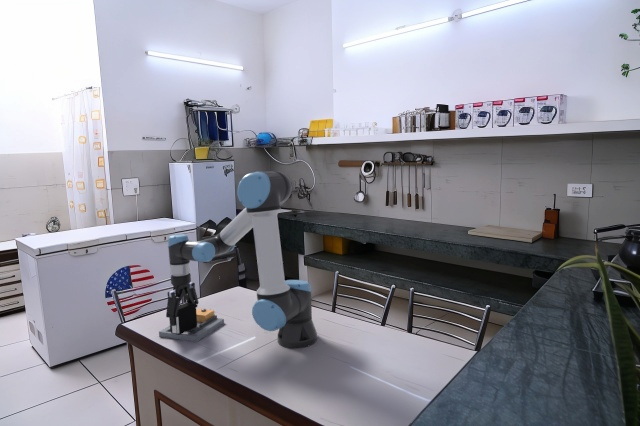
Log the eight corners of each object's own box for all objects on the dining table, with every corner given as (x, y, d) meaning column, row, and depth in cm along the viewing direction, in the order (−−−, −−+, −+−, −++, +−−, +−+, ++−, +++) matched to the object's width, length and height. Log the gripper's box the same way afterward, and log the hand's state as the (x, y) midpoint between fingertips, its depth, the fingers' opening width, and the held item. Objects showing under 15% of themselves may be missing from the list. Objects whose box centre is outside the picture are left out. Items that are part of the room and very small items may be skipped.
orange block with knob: (214, 316, 178) (214, 308, 177) (205, 322, 172) (205, 314, 171) (199, 315, 180) (198, 307, 180) (189, 320, 174) (189, 312, 174)
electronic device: (197, 326, 168) (195, 303, 167) (177, 335, 159) (175, 310, 158) (190, 324, 170) (188, 301, 169) (170, 333, 162) (168, 309, 160)
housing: (224, 323, 176) (223, 316, 175) (196, 341, 158) (196, 333, 158) (189, 319, 182) (188, 312, 181) (159, 336, 164) (158, 328, 164)
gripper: (190, 266, 174) (193, 316, 177) (152, 280, 153) (157, 337, 156) (205, 267, 171) (208, 318, 174) (169, 282, 151) (173, 340, 153)
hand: (184, 327), depth 165 cm, fingers closed on electronic device, 10 cm apart
